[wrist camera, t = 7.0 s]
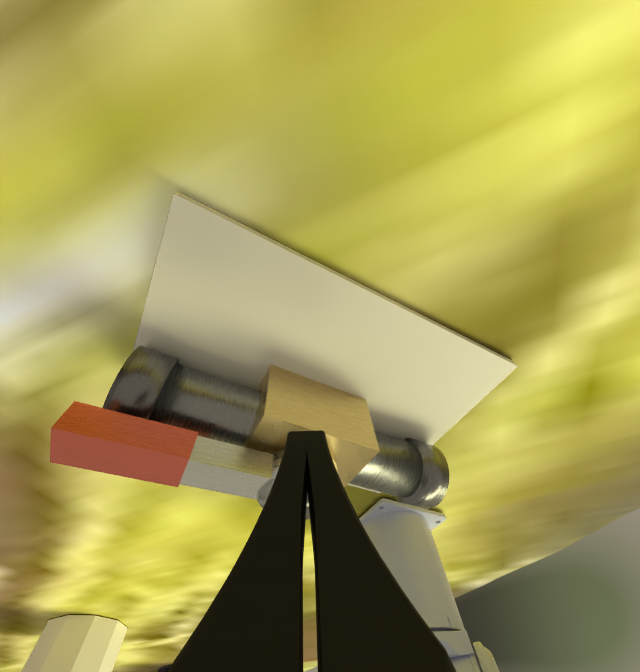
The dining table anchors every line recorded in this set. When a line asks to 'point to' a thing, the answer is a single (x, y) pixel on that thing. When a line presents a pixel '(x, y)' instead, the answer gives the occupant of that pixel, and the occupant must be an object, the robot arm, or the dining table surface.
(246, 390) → the valve body
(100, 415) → the lever
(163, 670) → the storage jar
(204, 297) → the mounting board
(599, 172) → the dining table surface
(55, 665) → the toilet paper
